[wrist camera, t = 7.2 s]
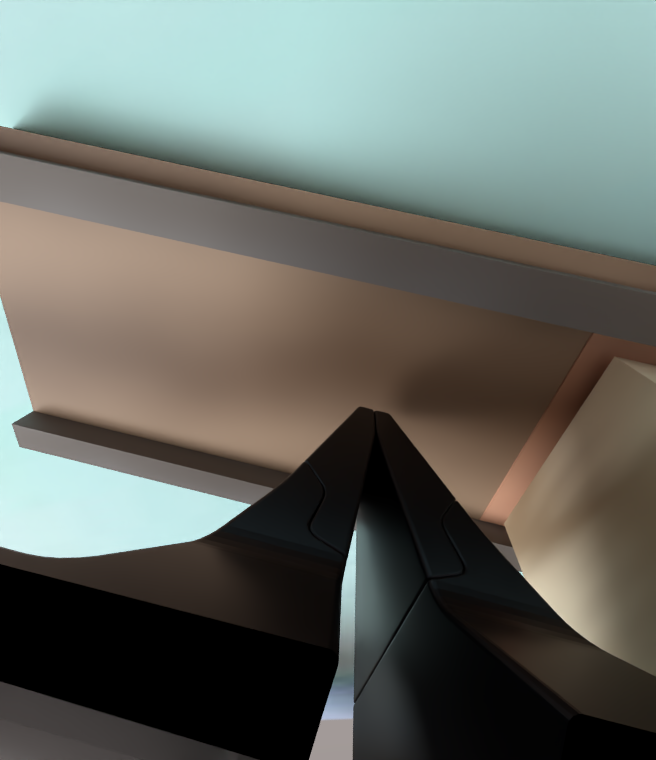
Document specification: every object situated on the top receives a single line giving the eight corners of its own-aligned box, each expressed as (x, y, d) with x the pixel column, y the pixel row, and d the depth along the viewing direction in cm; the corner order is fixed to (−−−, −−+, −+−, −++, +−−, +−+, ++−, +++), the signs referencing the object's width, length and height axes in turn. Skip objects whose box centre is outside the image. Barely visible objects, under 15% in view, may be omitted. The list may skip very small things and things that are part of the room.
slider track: (813, 600, 13) (1005, 777, 9) (76, 420, 14) (-46, 506, 10) (1173, 375, 8) (1931, 540, 4) (11, 128, 9) (-270, 71, 5)
